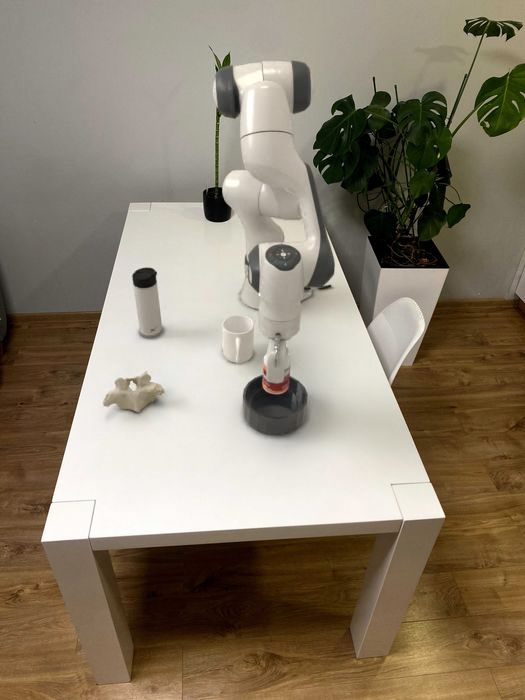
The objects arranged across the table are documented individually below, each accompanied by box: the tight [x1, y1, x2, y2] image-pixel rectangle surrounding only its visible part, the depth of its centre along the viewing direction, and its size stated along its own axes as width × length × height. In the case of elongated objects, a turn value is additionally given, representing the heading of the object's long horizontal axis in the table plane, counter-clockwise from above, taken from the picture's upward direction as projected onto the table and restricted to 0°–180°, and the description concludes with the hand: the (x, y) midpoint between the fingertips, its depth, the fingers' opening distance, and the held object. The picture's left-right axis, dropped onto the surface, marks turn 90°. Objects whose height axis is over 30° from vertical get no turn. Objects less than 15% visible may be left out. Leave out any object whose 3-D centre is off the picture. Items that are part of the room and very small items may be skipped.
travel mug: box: [131, 267, 163, 339], centre depth 149 cm, size 6×7×20 cm
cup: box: [221, 314, 255, 365], centre depth 144 cm, size 8×12×10 cm
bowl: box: [242, 374, 309, 436], centre depth 130 cm, size 15×15×6 cm
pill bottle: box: [262, 346, 292, 394], centre depth 123 cm, size 6×6×11 cm
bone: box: [102, 370, 166, 413], centre depth 131 cm, size 9×14×8 cm, turn 125°
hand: (276, 369), depth 123 cm, fingers closed on pill bottle, 6 cm apart
